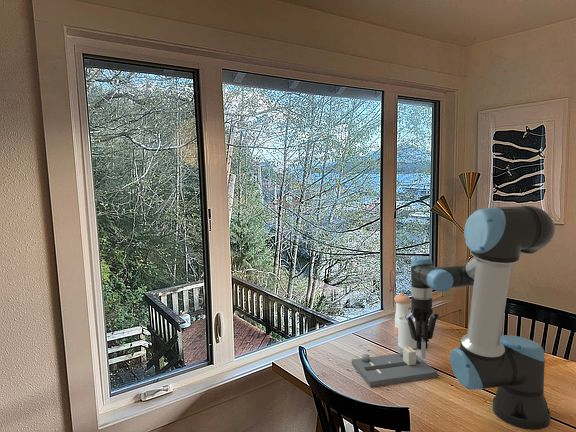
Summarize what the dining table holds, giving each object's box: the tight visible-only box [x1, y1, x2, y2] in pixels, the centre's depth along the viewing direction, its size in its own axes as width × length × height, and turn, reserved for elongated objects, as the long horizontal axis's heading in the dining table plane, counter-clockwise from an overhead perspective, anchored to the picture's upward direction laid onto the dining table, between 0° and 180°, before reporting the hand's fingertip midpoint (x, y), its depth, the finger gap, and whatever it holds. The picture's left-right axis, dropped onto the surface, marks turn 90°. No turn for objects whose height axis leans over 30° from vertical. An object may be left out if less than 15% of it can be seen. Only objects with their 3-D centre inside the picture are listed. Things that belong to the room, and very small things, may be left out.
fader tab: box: [402, 347, 417, 365], centre depth 152 cm, size 4×3×5 cm
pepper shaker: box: [393, 292, 411, 336], centre depth 186 cm, size 7×7×19 cm
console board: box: [351, 348, 438, 388], centre depth 151 cm, size 18×26×4 cm
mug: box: [397, 316, 417, 350], centre depth 172 cm, size 12×8×12 cm
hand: (422, 356), depth 154 cm, fingers closed
